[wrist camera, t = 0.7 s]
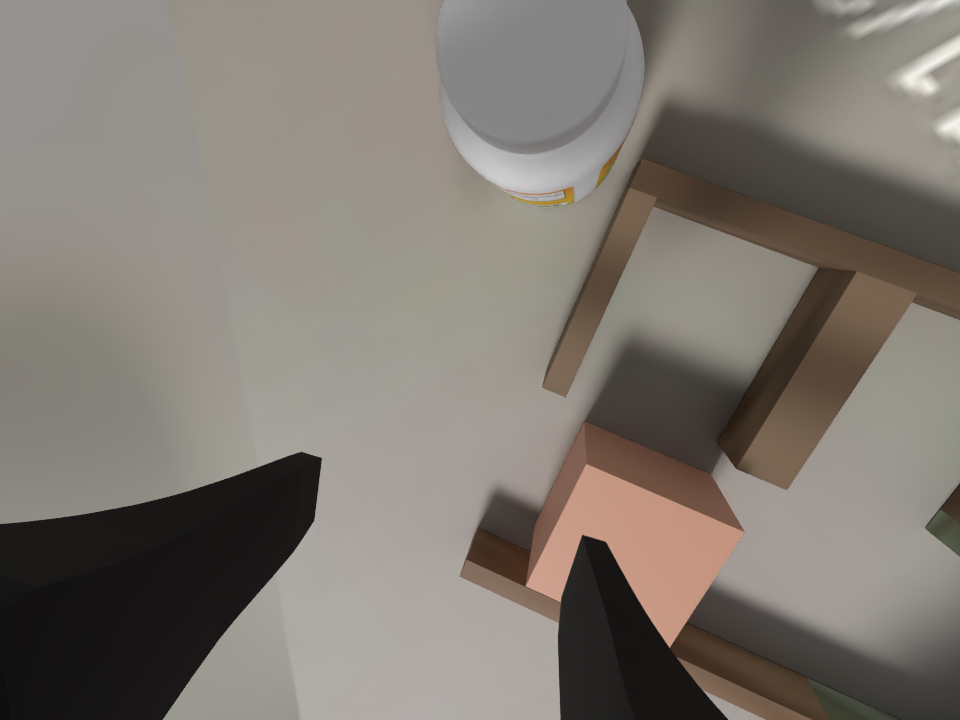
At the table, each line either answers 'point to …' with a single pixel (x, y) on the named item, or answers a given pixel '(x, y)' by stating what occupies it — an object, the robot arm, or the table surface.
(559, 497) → the terracotta block
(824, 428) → the frame
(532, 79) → the supplement bottle
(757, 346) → the table surface
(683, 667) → the robot arm
